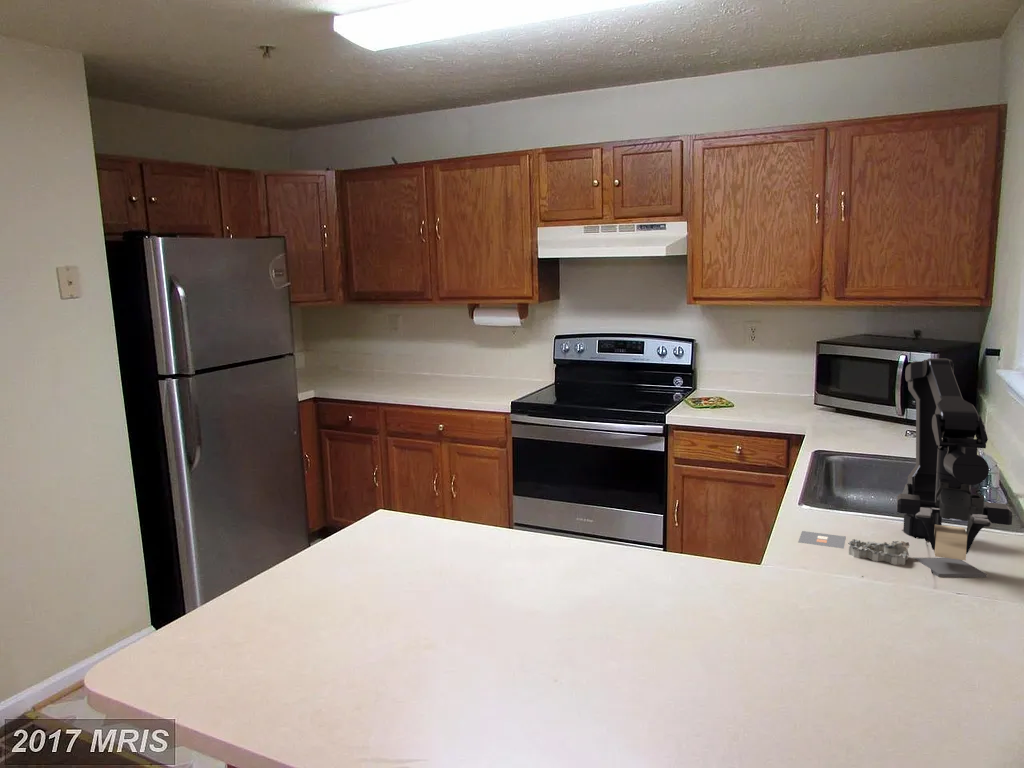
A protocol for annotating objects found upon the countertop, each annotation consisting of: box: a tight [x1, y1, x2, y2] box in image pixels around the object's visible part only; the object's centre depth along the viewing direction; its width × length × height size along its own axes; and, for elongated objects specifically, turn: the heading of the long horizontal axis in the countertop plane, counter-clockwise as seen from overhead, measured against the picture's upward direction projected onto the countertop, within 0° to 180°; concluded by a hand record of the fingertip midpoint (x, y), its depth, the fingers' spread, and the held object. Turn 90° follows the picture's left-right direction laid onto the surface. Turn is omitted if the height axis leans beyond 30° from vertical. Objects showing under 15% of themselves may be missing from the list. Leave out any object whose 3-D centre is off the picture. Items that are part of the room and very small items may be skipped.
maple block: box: [933, 525, 967, 561], centre depth 136 cm, size 5×5×5 cm
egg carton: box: [848, 538, 910, 566], centre depth 142 cm, size 11×8×4 cm
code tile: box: [797, 530, 847, 549], centre depth 153 cm, size 9×9×1 cm
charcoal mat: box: [913, 557, 988, 578], centre depth 137 cm, size 9×9×1 cm
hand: (949, 551), depth 137 cm, fingers closed on maple block, 5 cm apart
